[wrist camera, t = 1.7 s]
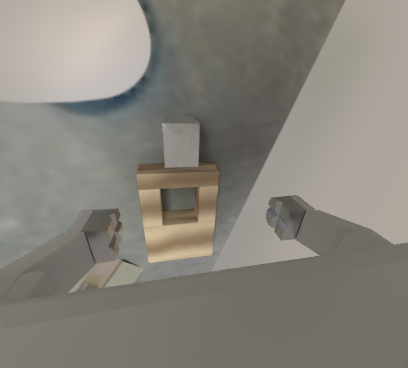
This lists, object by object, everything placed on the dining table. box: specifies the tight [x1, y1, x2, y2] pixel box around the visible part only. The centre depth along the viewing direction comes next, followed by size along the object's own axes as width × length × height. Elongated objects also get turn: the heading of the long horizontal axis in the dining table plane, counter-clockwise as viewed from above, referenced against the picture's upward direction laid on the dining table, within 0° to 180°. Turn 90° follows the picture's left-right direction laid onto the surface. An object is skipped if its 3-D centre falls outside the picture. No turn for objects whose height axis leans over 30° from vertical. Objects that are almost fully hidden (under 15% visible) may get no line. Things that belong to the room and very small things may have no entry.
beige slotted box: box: [68, 258, 143, 293], centre depth 35 cm, size 16×9×15 cm
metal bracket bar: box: [162, 114, 200, 168], centre depth 24 cm, size 5×4×8 cm
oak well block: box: [136, 162, 220, 263], centre depth 32 cm, size 18×12×4 cm, turn 177°
